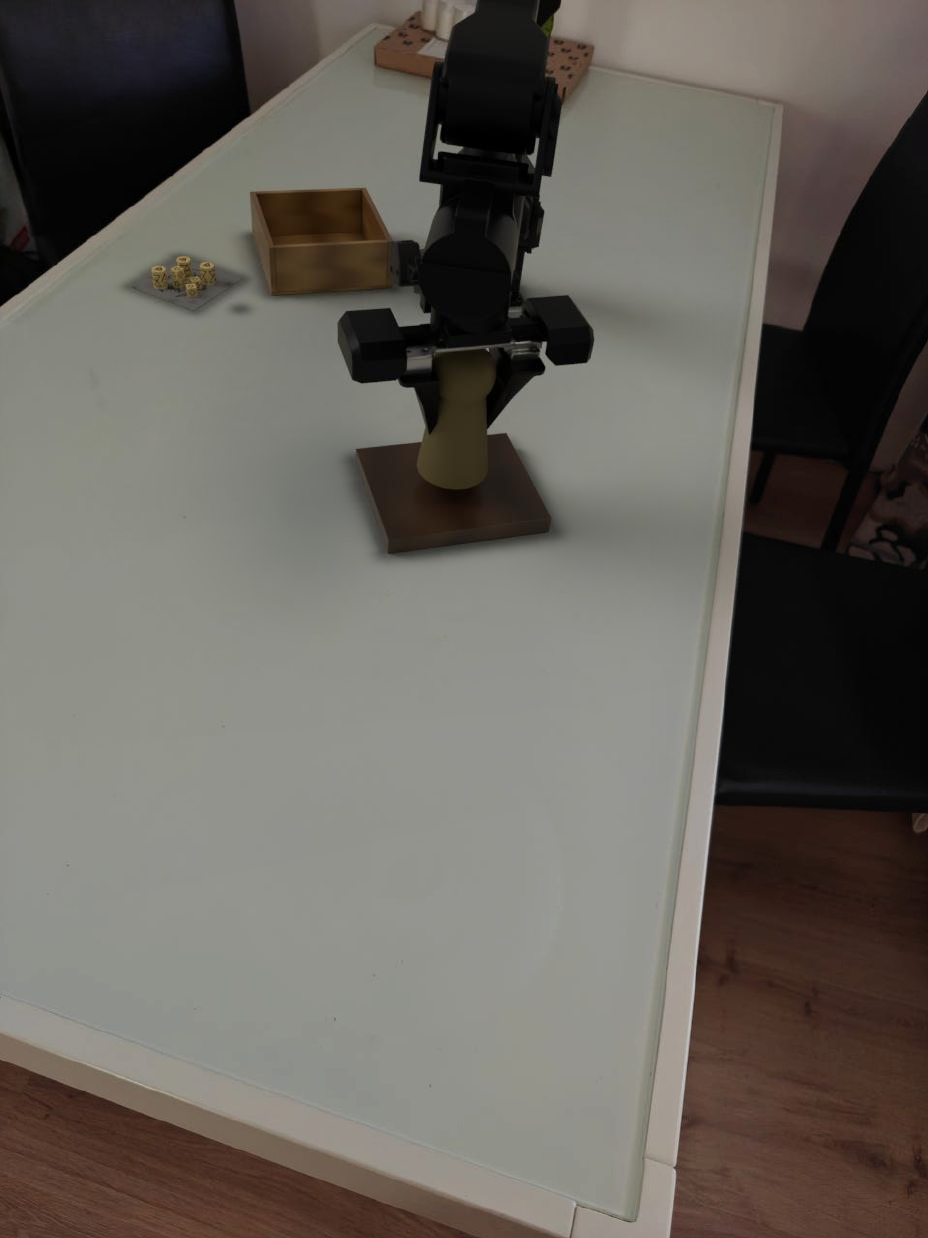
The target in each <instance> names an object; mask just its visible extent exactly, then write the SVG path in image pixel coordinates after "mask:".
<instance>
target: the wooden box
mask: <svg viewBox="0 0 928 1238" xmlns="http://www.w3.org/2000/svg"><path fill="white" fill-rule="evenodd" d="M249 201H250V202H249V203H250V214H251V233H252V239H253V243H254V245H255V249H256V252H257V255H258V258H259V261H260V264H261V267H262V270H263V273H264V277H265V279H266V283H267V286H268V289H269V292H270V295H271V296H282V295H298V294H313V293H314V294H315V293H329V292H344V291H346V292H347V291H360V290H361V291H362V290H374V289H375V290H376V289H377V290H378V289H391V288H392V287H393V282H392V281H391V276H390V250H391V241H394V240H393V238H392V236H391V234H390V232H389V230H388V228H387V226H386V224H385V222H384V221H383V219H382V216H381V214H380V212H379V211H378V208H377V207H376V204H375V202H374V201H373V199H372V197H371V195H370V193H369V191H368V189H367V187H344V188H342V187H340V188H316V189H315V188H314V189H313V188H312V189H287V190H283V189H282V190H260V191H259V190H255V191H254V190H253V191H249Z"/></svg>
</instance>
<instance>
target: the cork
mask: <svg viewBox="0 0 928 1238" xmlns="http://www.w3.org/2000/svg"><path fill="white" fill-rule="evenodd" d="M432 365H433V367H434V369H435V371H436V373H437V375H438V377H439V380H440V386H439V400H438V416H437V425H436V426H435V428H434V429H433V431H432V432H431V434H430V435H429V433H428V431H427V429H426V426H424V431H423V435H422V440H421V442H422V443H421V447H420V451H419V455H418V460H417V469H418V471H419V473H420V475H421V476H422V477H423V478H424V479H425V480H427V481H428V482H430V483H431V484H433V485H436V486H439V487H442V488H446V489H455V490H456V489H467V488H470V487H473V486H476V485H477V484H479V483H480V482H482V481H483V480H484V478H485V477H486V475H487V471H488V447H487V435H488V429H487V395H488V394H489V392H490V391H491V390H492V388H493V386H494V384H495V380H496V371H497V369H496V363H495V361H494V359H493V357H492V355H491V353H490V352H489V350H488V349H475V350H463V351H452V352H440V353H435V354H434V356H433V360H432Z"/></svg>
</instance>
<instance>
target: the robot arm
mask: <svg viewBox="0 0 928 1238" xmlns="http://www.w3.org/2000/svg"><path fill="white" fill-rule="evenodd" d="M561 5H562V0H476V4H475V8H474V12H473V13H471V14H469V15H468V16H466V17H465V18H463V19H462V20H460V21H458V22H457V23H455V24H454V25H452V28H451V30H450V33H449V34H450V35H449V38H448V41H447V46H446V49H445V55H444V59H443V61H441V60H435V61H434V62H433V68H432V73H431V79H430V80H431V81H430V87H429V96H428V104H427V109H426V111H427V112H426V119H425V125H424V126H425V127H424V135H423V143H422V151H421V159H420V168H419V175H418V181H419V183H425V184H432V185H440V186H439V200H438V202H439V203H438V208H437V209H436V212H435V213H434V216H433V219H432V222H431V224H430V228H429V231H428V235H427V238H426V242H425V245H424V248H420V243H419V242H417V241H415V240H413V239H406V240H405V239H403V240H393V241H391V250H390V276H391V281H392V284H393V285H395V286H396V287H398V288H406V287H407V288H408V287H413V293H414V294H415V295H418V294H419V307H420V309H421V311H422V313H423V314H430V315H429V316H430V317H429V323H420V324H417V325H416V324H414V325H403V326H402V325H400V326H399V323H398V321H397V319H396V317H395V315H394V313H393V310H392V308H391V307H382V308H369V309H368V308H367V309H352V310H346V311H345V312H344V313H343V314H342V316H341V317H340V318H339V320H338V321H337V344H338V347H339V349H340V352H341V355H342V358H343V360H344V363H345V366H346V368H347V370H348V373H349V375H350V378H351V381H354V382H356V383H359V384H361V385H362V384H373V383H384V382H394V381H397V382H398V384H399V386H401V387H403V388H405V389H411V388H412V389H413V390H414V392H415V396H416V400H417V403H418V407H419V410H420V413H421V416H422V420H423V422H424V427H426V429H427V431H428V433H429V435H430V434H431V432H432V431H433V429H434V428H435V426H436V425H437V416H438V400H439V386H440V380H439V377H438V375H437V373H436V371H435V369H434V367H433V365H432V360H433V356H434V354H435V353H440V352H452V351H463V350H475V349H486V350H488V352H490V353H491V355H492V357H493V359H494V361H495V363H496V369H497V371H496V380H495V384H494V386H493V388H492V390H491V391H490V392H489V394H488V395H487V430H489V429H490V427H491V426H492V425H493V423H495V421H496V420H497V418H498V417H499V416H500V414H502V412H503V411H504V410H505V408H506V407H507V406H508V404H509V403H510V402H511V401H512V400H513V399H514V398H515V397H516V395H517V394H518V393H520V392H521V390H522V389H523V388H524V387H525V386H526V385H528V383H529V382H530V381H531V380H532V379H533V378H535V377H538V376H540V377H541V376H543V375H544V374H545V372H546V367H547V366H546V364H545V363H544V361H543V360H542V358H541V350H542V348H543V344H544V343H546V345H545V351H544V355H546V358H547V359H548V360H549V361H550V362H551V364H553V366H555V367H560V366H571V365H580V364H581V365H582V364H588V362H589V361H591V359H592V354H593V350H594V349H593V348H594V344H595V333H594V328H593V327H592V326H591V324H590V322H589V321H588V320H587V318H586V316H585V315H584V314H583V313H582V311H581V310H580V308H579V307H578V305H577V304H576V302H575V301H574V300H573V299H572V298H571V296H570V295H569V294H564V295H550V296H537V297H536V296H533V297H527V298H526V299H525V297H524V296H523V295H522V293H521V292H520V288H521V282H522V274H523V269H524V262H525V253H526V254H529V255H530V254H531V255H532V253H533V250H535V249H537V248H540V244H541V243H540V241H541V236H542V229H543V225H544V224H543V223H544V217H545V212H546V211H545V209H544V207H543V206H542V201H540V199H541V198H540V197H541V194H540V193H541V186H542V179H543V177H548V178H549V177H550V178H552V174H553V170H554V163H555V157H556V149H557V144H558V143H557V142H558V137H559V130H560V129H559V128H560V122H561V114H562V106H563V98H562V97H561V95H560V94H559V90H558V89H559V83H557V77H555V76H550V75H549V76H547V75H546V72H547V66H548V59H549V51H550V44H551V40H550V38H549V36H547V34H546V33H545V32H544V31H543V29H542V28H543V27H545V26H546V24H547V23H548V22H549V21H550V20H551V19H552V18H553V16H554V15H555V14H556V13H557V12H558V11H559V10H560V9H561ZM439 125H441V126H440V130H439ZM439 131H440V132H439ZM438 133H439V141H440V142H441V143H442V144H445V145H447V146H453V147H461V148H462V149H460V150H459V151H458V152H457V153H456V152H451V151H445V150H444V151H442V150H439V151H438V152H437V158H435V152H436V151H435V150H436V145H437V139H438V138H437V137H438ZM537 139H538V143H537ZM536 143H537V152H536V158H535V165H534V164H533V162H532V161H531V159H530V158H529V156H532V155H533V154H535V149H536ZM520 305H521V311H511V312H510V307H511V306H520Z"/></svg>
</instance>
